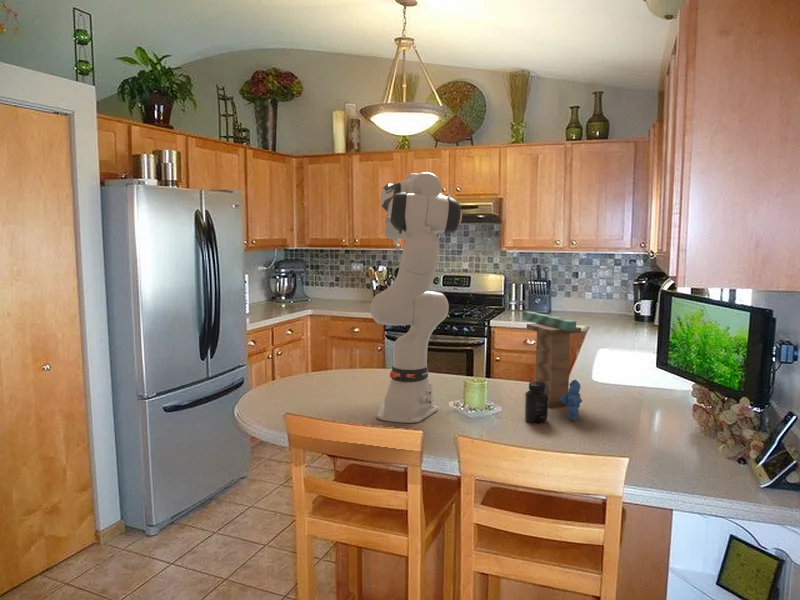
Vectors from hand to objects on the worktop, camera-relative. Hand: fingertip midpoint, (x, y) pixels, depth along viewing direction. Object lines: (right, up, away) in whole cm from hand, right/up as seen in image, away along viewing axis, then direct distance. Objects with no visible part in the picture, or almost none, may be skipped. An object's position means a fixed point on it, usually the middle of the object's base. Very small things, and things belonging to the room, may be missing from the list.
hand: (409, 250), depth 231 cm
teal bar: (+47, -28, -27) cm, 61 cm away
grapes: (+50, -56, -46) cm, 88 cm away
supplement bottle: (+38, -57, -48) cm, 84 cm away
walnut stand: (+49, -54, -26) cm, 77 cm away
